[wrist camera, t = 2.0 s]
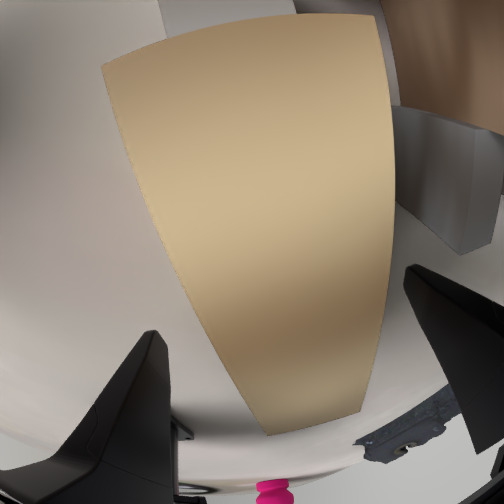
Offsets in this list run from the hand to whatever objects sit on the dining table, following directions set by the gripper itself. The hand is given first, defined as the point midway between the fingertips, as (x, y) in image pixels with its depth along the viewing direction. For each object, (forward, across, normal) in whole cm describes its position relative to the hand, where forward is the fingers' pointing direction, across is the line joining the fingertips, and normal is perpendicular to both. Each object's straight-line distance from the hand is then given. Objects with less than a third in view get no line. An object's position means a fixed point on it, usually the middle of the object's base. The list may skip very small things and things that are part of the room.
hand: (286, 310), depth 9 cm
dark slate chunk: (+3, -18, +32) cm, 36 cm away
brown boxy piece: (+2, -8, -8) cm, 12 cm away
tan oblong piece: (+2, 0, -4) cm, 4 cm away
